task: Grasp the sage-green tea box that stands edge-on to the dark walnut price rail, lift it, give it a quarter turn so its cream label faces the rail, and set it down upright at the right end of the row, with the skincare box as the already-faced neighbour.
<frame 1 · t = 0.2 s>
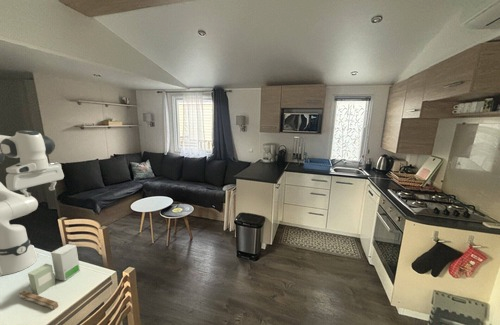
hand: (40, 193, 97), 47 cm above the table, fingers open, 8 cm apart
sage tea box: (44, 288, 100), on the table
skincare box: (68, 274, 109), on the table
price rail: (38, 302, 92), on the table
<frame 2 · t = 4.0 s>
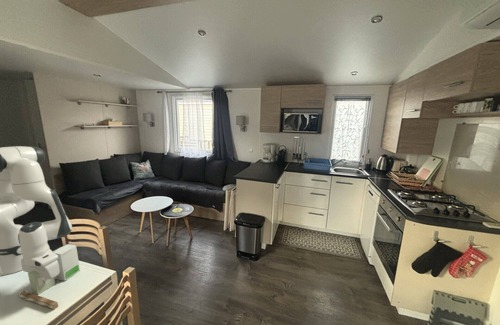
hand: (42, 281, 99), 4 cm above the table, fingers closed on sage tea box, 4 cm apart
sage tea box: (44, 288, 100), on the table, touching gripper
everything else where it was.
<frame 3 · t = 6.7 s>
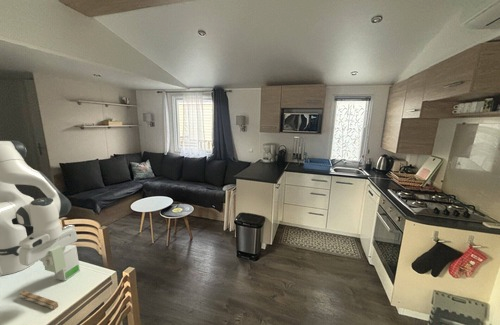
hand: (53, 260, 93), 18 cm above the table, fingers closed on sage tea box, 4 cm apart
sage tea box: (55, 268, 94), point 14 cm above the table, touching gripper
everything else where it was.
when the fingers open (5 cm above the table, at t = 9.6 s): sage tea box stays where it is, on the table.
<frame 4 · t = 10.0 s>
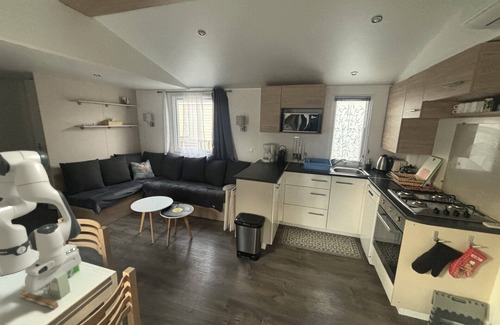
hand: (58, 284, 96), 5 cm above the table, fingers open, 8 cm apart
sage tea box: (60, 293, 97), on the table
everything else where it was.
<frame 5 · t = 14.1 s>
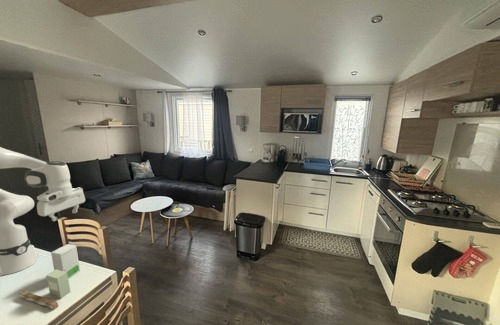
hand: (65, 216, 108), 31 cm above the table, fingers open, 8 cm apart
nothing on the table moved.
at the end: sage tea box inside the target area (0.1 cm from its centre), on the table; sage tea box tilted 0°; the gripper is holding nothing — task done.
